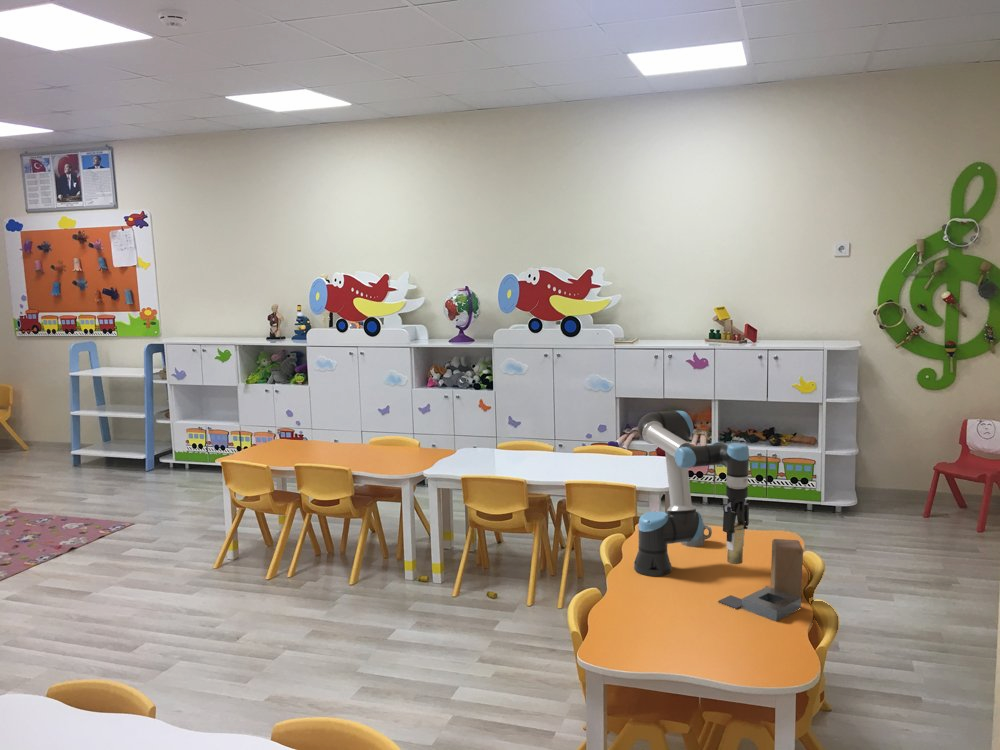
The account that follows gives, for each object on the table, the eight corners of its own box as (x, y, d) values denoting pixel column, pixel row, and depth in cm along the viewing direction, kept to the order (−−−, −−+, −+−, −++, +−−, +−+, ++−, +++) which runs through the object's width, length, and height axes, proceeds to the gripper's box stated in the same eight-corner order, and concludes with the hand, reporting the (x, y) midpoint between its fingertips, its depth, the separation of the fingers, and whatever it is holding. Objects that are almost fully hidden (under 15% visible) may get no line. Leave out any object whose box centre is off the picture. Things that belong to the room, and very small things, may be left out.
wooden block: (801, 599, 304) (803, 548, 301) (773, 598, 306) (775, 547, 303) (797, 589, 313) (799, 539, 310) (770, 587, 315) (771, 537, 312)
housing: (741, 608, 297) (742, 598, 296) (766, 596, 307) (767, 586, 306) (776, 621, 286) (776, 610, 285) (800, 608, 296) (801, 598, 295)
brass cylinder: (724, 561, 300) (725, 524, 298) (732, 557, 303) (733, 521, 301) (736, 565, 296) (738, 528, 294) (745, 561, 299) (746, 525, 297)
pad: (717, 602, 302) (717, 600, 302) (730, 596, 307) (730, 595, 307) (736, 609, 296) (736, 607, 296) (749, 603, 301) (749, 601, 301)
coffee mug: (678, 545, 362) (679, 523, 361) (682, 538, 371) (683, 517, 370) (709, 549, 357) (710, 527, 356) (712, 541, 366) (713, 520, 365)
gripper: (730, 493, 287) (729, 556, 290) (760, 483, 298) (758, 544, 302) (713, 489, 292) (711, 550, 296) (742, 479, 304) (741, 539, 307)
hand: (735, 547), depth 299 cm, fingers closed on brass cylinder, 5 cm apart
